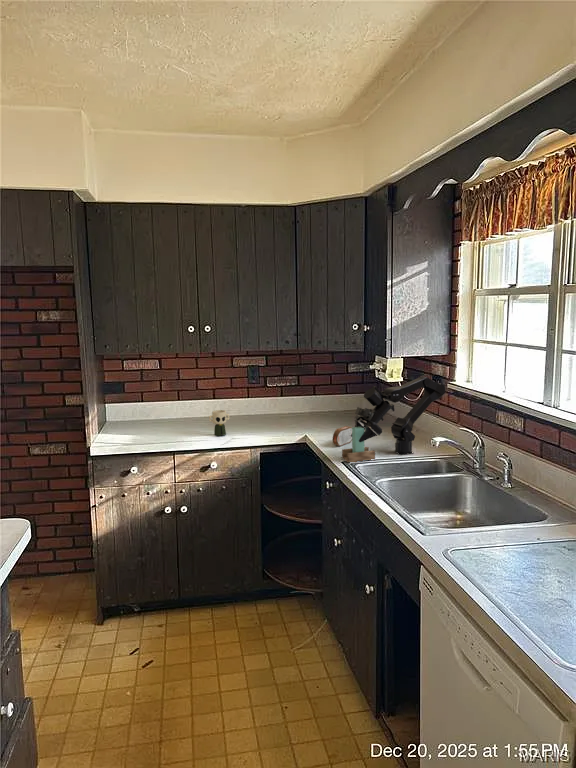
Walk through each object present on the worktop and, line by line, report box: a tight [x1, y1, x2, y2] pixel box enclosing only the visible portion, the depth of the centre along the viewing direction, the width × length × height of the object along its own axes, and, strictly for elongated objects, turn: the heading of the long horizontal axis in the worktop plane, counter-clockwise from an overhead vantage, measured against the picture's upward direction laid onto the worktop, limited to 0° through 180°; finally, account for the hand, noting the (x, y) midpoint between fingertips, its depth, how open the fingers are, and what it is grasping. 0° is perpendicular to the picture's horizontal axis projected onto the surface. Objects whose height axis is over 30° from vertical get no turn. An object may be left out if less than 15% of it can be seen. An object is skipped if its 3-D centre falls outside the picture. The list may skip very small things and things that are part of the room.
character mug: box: [208, 409, 230, 437], centre depth 301 cm, size 11×7×13 cm, turn 112°
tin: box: [332, 425, 353, 447], centre depth 275 cm, size 15×3×8 cm, turn 141°
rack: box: [341, 446, 376, 463], centre depth 250 cm, size 12×8×4 cm
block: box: [351, 426, 365, 453], centre depth 249 cm, size 4×4×13 cm
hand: (355, 439), depth 248 cm, fingers open, 9 cm apart
